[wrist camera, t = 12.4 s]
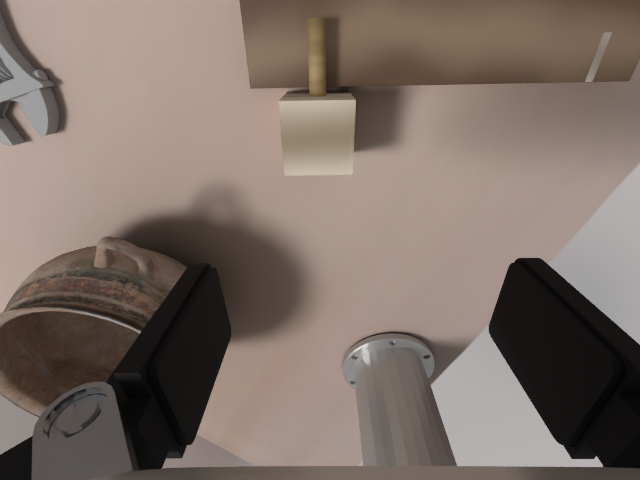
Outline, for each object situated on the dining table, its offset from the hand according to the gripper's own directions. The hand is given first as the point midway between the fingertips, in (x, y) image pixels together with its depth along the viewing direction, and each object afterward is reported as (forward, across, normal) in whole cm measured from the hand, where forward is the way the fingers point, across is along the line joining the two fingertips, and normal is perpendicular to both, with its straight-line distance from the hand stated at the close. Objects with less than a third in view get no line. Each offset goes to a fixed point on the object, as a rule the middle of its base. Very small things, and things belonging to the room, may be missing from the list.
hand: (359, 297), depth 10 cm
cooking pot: (+20, +21, +15) cm, 33 cm away
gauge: (+20, +2, -5) cm, 20 cm away
